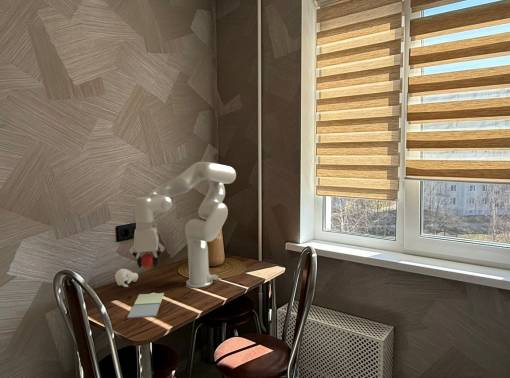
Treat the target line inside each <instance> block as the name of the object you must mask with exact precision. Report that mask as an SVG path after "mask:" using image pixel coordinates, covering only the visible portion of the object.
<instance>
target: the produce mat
mask: <svg viewBox="0 0 510 378" xmlns="http://www.w3.org/2000/svg"><path fill="white" fill-rule="evenodd" d="M164 296H165V293H164V292H160V293H143V294H142V293H139V294H138V296H137V297H136V300H135V301H134V303H133V306H135V305H151V304H160V305H161V302H162V300H163V297H164Z"/></svg>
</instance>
